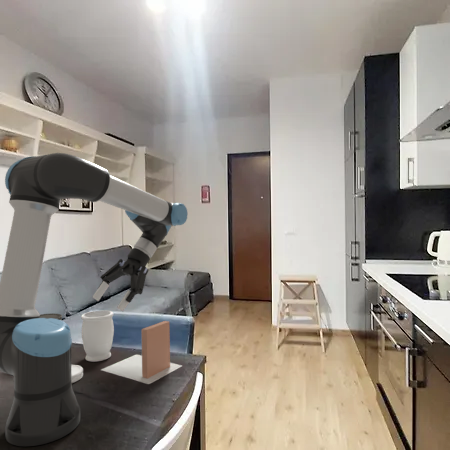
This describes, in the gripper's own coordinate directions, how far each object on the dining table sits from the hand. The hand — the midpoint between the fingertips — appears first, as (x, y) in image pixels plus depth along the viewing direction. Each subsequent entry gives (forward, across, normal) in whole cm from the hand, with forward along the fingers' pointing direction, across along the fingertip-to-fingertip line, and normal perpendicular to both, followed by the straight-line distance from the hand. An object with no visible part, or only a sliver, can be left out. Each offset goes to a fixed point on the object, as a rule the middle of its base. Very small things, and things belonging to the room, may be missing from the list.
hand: (107, 304), depth 123 cm
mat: (+12, -20, -10) cm, 25 cm away
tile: (+11, -25, -9) cm, 29 cm away
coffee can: (+24, +16, -5) cm, 29 cm away
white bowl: (+26, -7, +2) cm, 27 cm away
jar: (+15, +2, -12) cm, 19 cm away
